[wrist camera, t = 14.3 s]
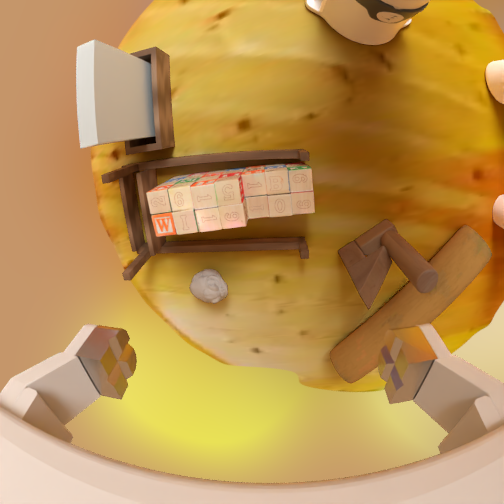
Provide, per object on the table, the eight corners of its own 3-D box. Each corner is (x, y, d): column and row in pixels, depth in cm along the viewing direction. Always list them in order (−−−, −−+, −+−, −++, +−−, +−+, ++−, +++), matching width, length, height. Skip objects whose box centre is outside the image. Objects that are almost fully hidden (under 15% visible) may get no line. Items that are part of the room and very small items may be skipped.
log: (455, 216, 44) (484, 234, 35) (472, 245, 46) (499, 266, 37) (325, 341, 58) (332, 375, 49) (351, 359, 60) (359, 391, 51)
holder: (136, 63, 36) (120, 56, 31) (169, 55, 36) (155, 46, 30) (142, 151, 43) (126, 154, 37) (174, 146, 42) (161, 149, 37)
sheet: (146, 71, 37) (77, 47, 19) (160, 68, 37) (94, 39, 19) (151, 137, 42) (80, 148, 24) (164, 135, 42) (97, 144, 24)
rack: (128, 164, 44) (90, 177, 33) (303, 149, 42) (316, 156, 31) (142, 248, 50) (113, 280, 40) (304, 243, 48) (314, 277, 37)
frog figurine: (234, 288, 53) (229, 310, 47) (198, 290, 54) (189, 312, 47) (228, 259, 50) (223, 279, 44) (191, 262, 51) (181, 282, 45)
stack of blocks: (304, 160, 43) (316, 171, 31) (306, 198, 45) (319, 221, 34) (174, 176, 45) (144, 192, 34) (180, 211, 47) (154, 237, 36)
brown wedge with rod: (336, 250, 48) (366, 309, 32) (385, 217, 45) (436, 263, 29) (346, 265, 50) (376, 327, 33) (394, 233, 46) (443, 283, 30)
